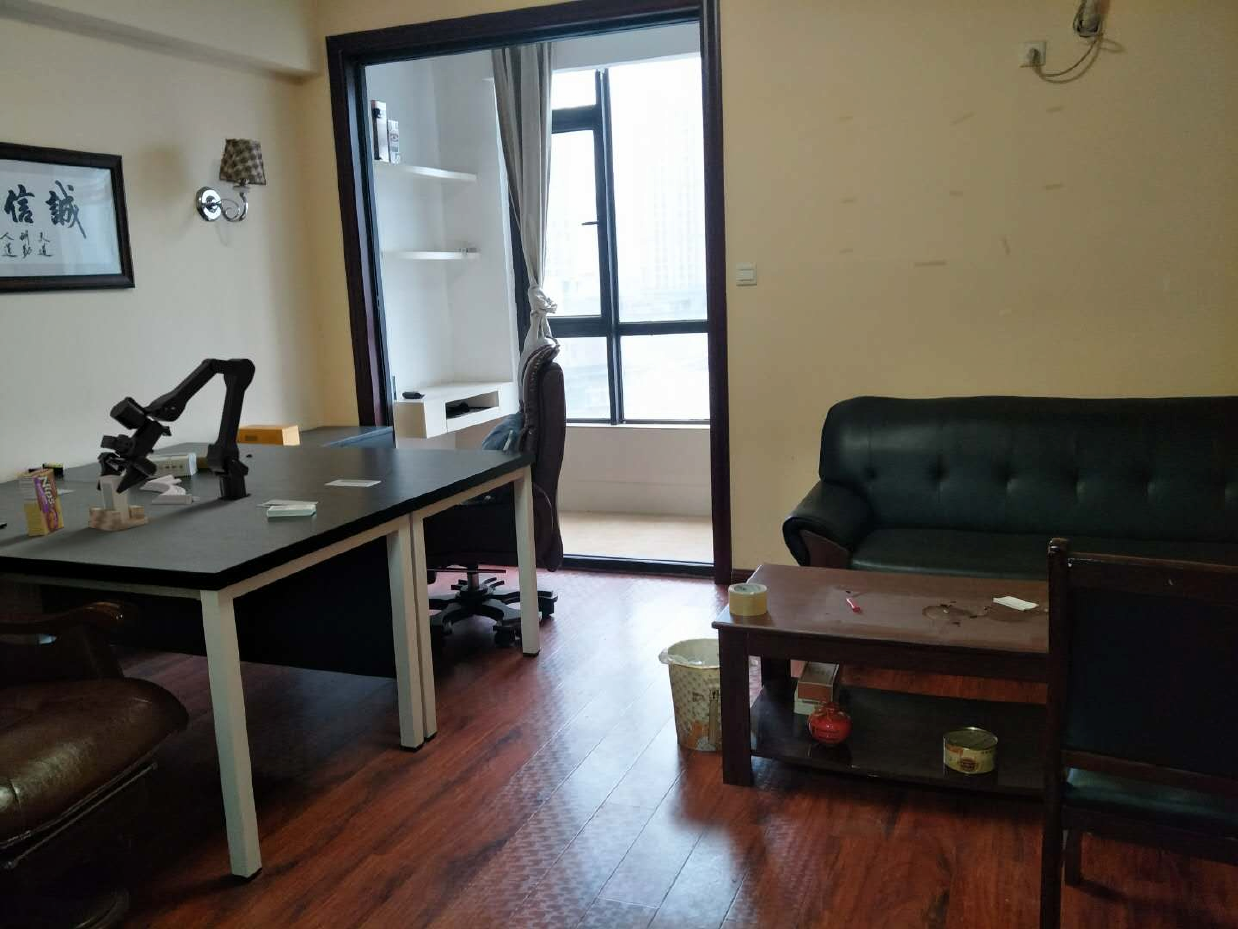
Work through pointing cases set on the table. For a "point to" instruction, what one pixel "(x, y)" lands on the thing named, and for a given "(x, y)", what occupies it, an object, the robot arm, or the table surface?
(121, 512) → the grey upright slab
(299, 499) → the table surface
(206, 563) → the table surface
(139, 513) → the stand
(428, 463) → the table surface
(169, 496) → the molding
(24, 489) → the candy box
